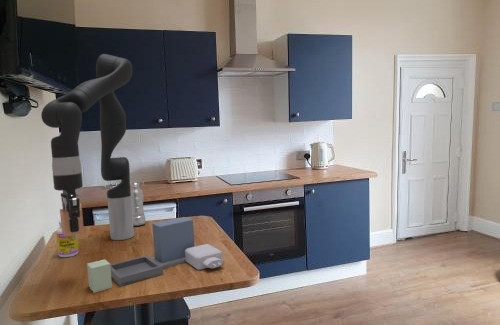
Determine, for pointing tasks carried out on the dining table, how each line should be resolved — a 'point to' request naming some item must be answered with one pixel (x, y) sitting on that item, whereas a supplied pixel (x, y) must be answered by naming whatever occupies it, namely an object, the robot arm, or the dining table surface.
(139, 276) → the tray
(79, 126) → the robot arm
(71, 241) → the supplement bottle
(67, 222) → the terracotta block
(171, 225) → the block
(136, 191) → the plastic bottle
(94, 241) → the dining table surface
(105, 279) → the sage block
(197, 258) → the charger
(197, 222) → the dining table surface
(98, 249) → the dining table surface
